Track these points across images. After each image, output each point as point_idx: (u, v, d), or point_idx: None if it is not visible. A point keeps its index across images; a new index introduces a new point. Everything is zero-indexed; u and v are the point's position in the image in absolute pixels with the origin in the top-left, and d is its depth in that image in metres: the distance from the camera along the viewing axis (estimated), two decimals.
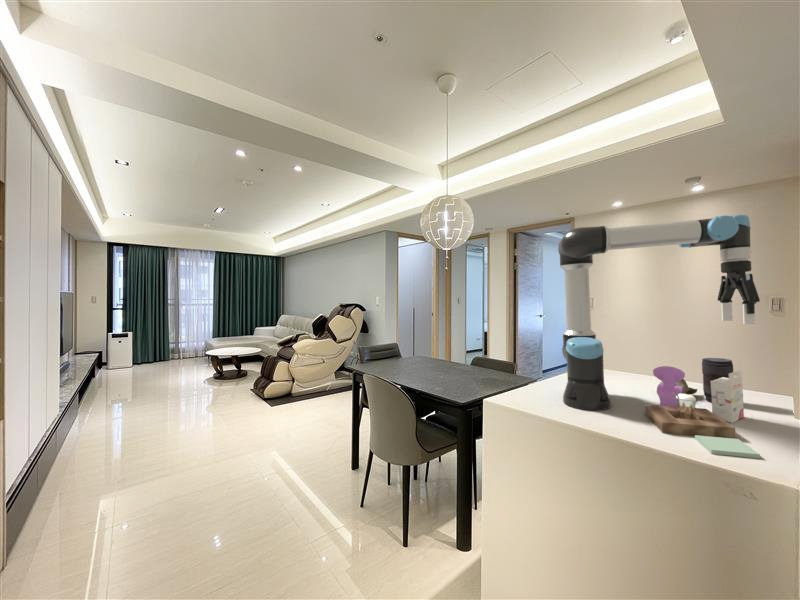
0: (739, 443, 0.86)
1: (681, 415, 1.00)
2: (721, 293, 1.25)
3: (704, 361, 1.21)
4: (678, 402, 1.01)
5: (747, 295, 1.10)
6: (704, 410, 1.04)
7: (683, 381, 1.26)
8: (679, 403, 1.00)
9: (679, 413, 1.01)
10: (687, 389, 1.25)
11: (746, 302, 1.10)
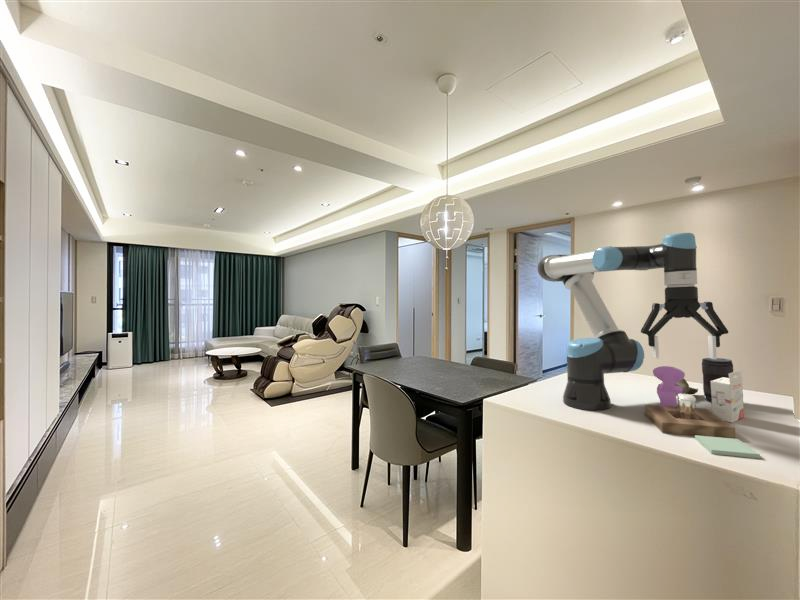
0: (739, 443, 0.86)
1: (681, 415, 1.00)
2: (713, 323, 0.98)
3: (704, 361, 1.21)
4: (678, 402, 1.01)
5: None
6: (704, 410, 1.04)
7: (684, 381, 1.26)
8: (679, 403, 1.00)
9: (679, 413, 1.01)
10: (688, 389, 1.25)
11: None
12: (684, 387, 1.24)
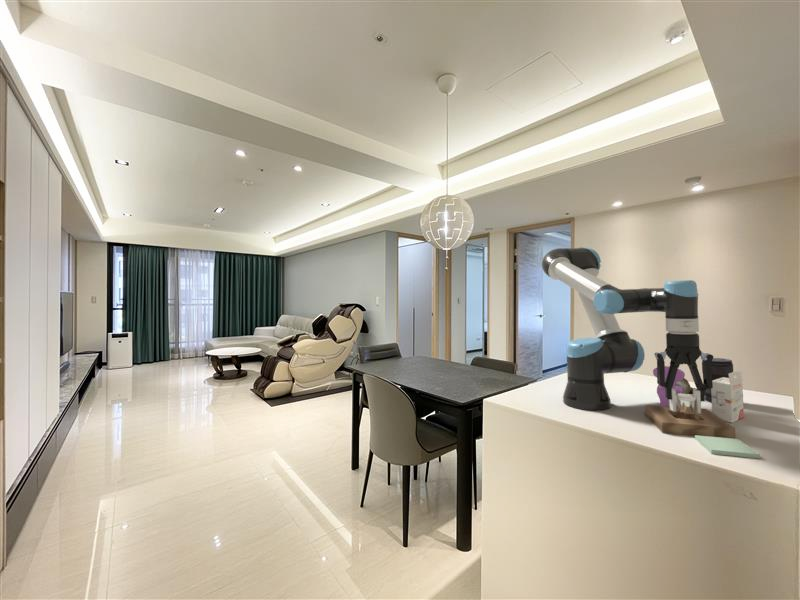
0: (739, 443, 0.86)
1: (681, 415, 1.00)
2: (703, 375, 1.00)
3: None
4: (678, 402, 1.01)
5: None
6: (704, 410, 1.04)
7: (686, 381, 1.26)
8: (679, 403, 1.00)
9: (679, 413, 1.01)
10: (690, 389, 1.25)
11: None
12: (686, 387, 1.24)
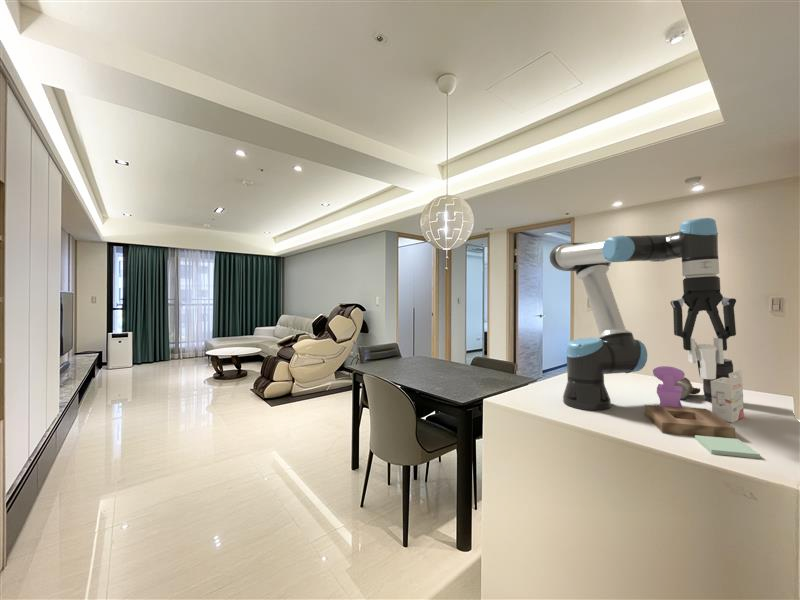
0: (739, 443, 0.86)
1: (701, 367, 0.91)
2: (724, 323, 0.91)
3: None
4: (697, 353, 0.92)
5: None
6: (704, 410, 1.04)
7: (688, 381, 1.26)
8: (699, 354, 0.91)
9: (699, 365, 0.92)
10: (692, 389, 1.25)
11: None
12: (688, 387, 1.24)
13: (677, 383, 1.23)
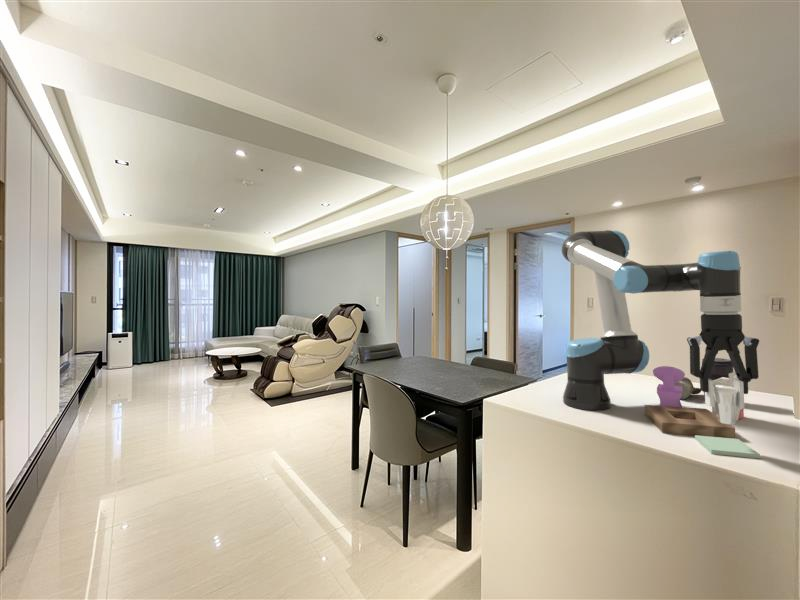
0: (739, 443, 0.86)
1: (720, 410, 0.85)
2: (746, 363, 0.84)
3: None
4: (716, 395, 0.85)
5: None
6: (704, 410, 1.04)
7: (689, 381, 1.26)
8: (717, 396, 0.85)
9: (717, 408, 0.86)
10: (693, 389, 1.25)
11: None
12: (690, 387, 1.24)
13: (679, 383, 1.23)
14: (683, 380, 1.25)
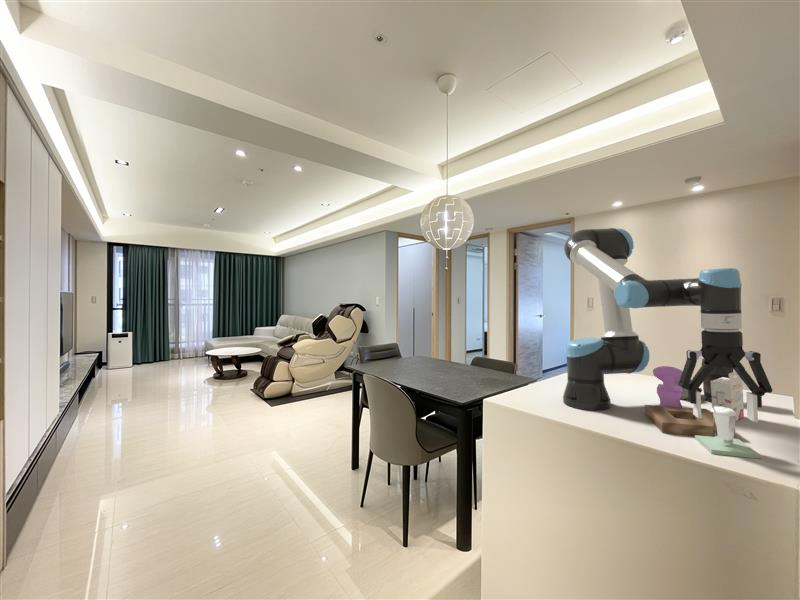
0: (739, 443, 0.86)
1: (718, 432, 0.85)
2: (755, 377, 0.84)
3: None
4: (715, 417, 0.86)
5: None
6: (704, 410, 1.04)
7: None
8: (716, 418, 0.85)
9: (715, 429, 0.86)
10: None
11: None
12: None
13: None
14: None
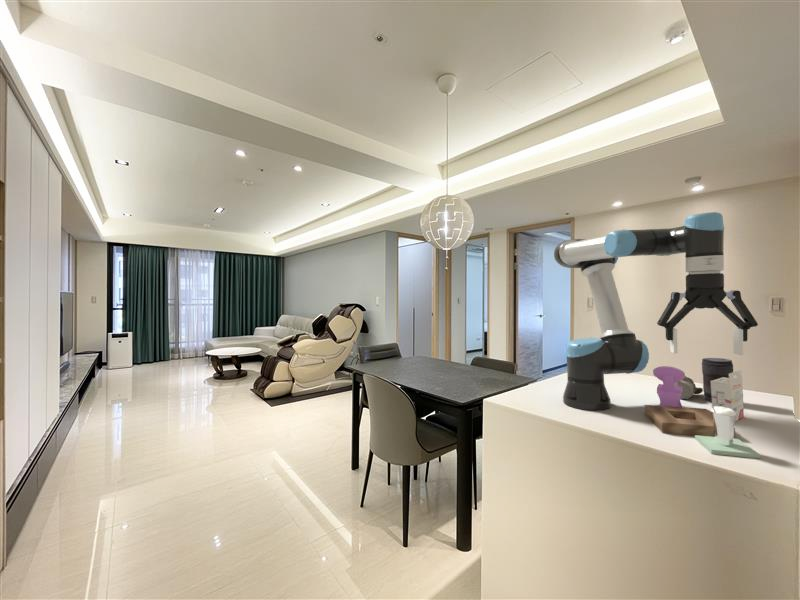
0: (739, 443, 0.86)
1: (718, 432, 0.85)
2: None
3: (704, 361, 1.21)
4: (714, 417, 0.86)
5: None
6: (704, 410, 1.04)
7: (691, 381, 1.26)
8: (716, 418, 0.85)
9: (715, 429, 0.86)
10: (696, 389, 1.25)
11: None
12: (693, 387, 1.24)
13: (682, 383, 1.23)
14: (686, 380, 1.25)
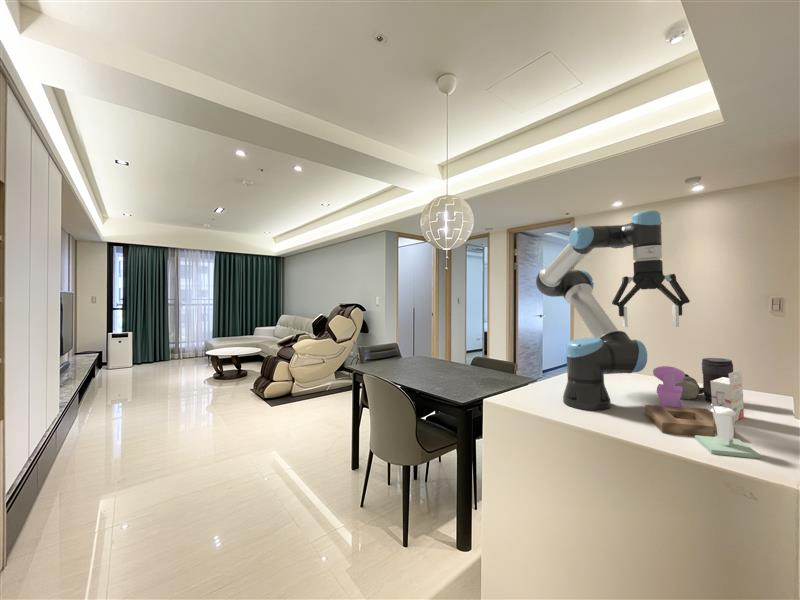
0: (739, 443, 0.86)
1: (718, 432, 0.85)
2: (677, 294, 1.07)
3: (704, 361, 1.21)
4: (714, 417, 0.86)
5: None
6: (704, 410, 1.04)
7: (695, 381, 1.26)
8: (716, 418, 0.85)
9: (715, 429, 0.86)
10: (699, 389, 1.25)
11: None
12: (697, 387, 1.23)
13: (688, 384, 1.22)
14: (690, 380, 1.25)
